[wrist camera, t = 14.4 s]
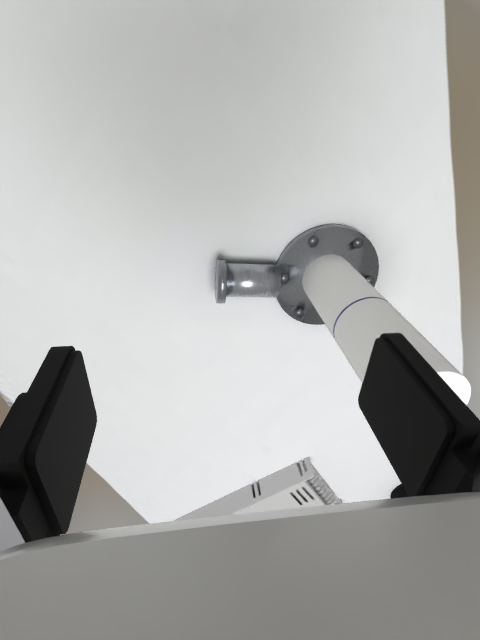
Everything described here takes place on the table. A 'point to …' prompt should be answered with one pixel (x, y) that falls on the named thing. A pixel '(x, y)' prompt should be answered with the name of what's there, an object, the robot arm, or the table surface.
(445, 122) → the table surface
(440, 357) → the cylindrical container
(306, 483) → the power supply unit
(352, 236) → the flange fitting
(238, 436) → the table surface
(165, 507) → the table surface
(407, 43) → the table surface
